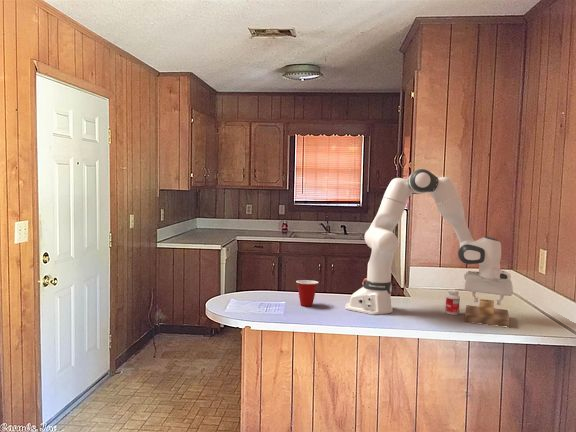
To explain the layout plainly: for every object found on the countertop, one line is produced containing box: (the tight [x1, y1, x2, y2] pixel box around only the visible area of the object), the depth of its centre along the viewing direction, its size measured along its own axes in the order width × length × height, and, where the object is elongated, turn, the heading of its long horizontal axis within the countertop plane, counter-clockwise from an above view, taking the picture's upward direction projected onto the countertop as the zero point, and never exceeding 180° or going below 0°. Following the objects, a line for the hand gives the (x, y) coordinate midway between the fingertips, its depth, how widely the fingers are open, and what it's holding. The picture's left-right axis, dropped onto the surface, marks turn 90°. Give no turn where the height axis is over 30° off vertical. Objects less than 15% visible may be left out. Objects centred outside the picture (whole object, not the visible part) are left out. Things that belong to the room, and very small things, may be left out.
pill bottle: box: [444, 288, 461, 316], centre depth 229 cm, size 6×6×11 cm
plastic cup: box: [295, 279, 319, 308], centre depth 236 cm, size 11×11×12 cm
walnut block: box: [464, 304, 510, 328], centre depth 221 cm, size 18×18×4 cm
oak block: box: [478, 298, 495, 314], centre depth 221 cm, size 6×6×5 cm
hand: (487, 303), depth 220 cm, fingers open, 8 cm apart
